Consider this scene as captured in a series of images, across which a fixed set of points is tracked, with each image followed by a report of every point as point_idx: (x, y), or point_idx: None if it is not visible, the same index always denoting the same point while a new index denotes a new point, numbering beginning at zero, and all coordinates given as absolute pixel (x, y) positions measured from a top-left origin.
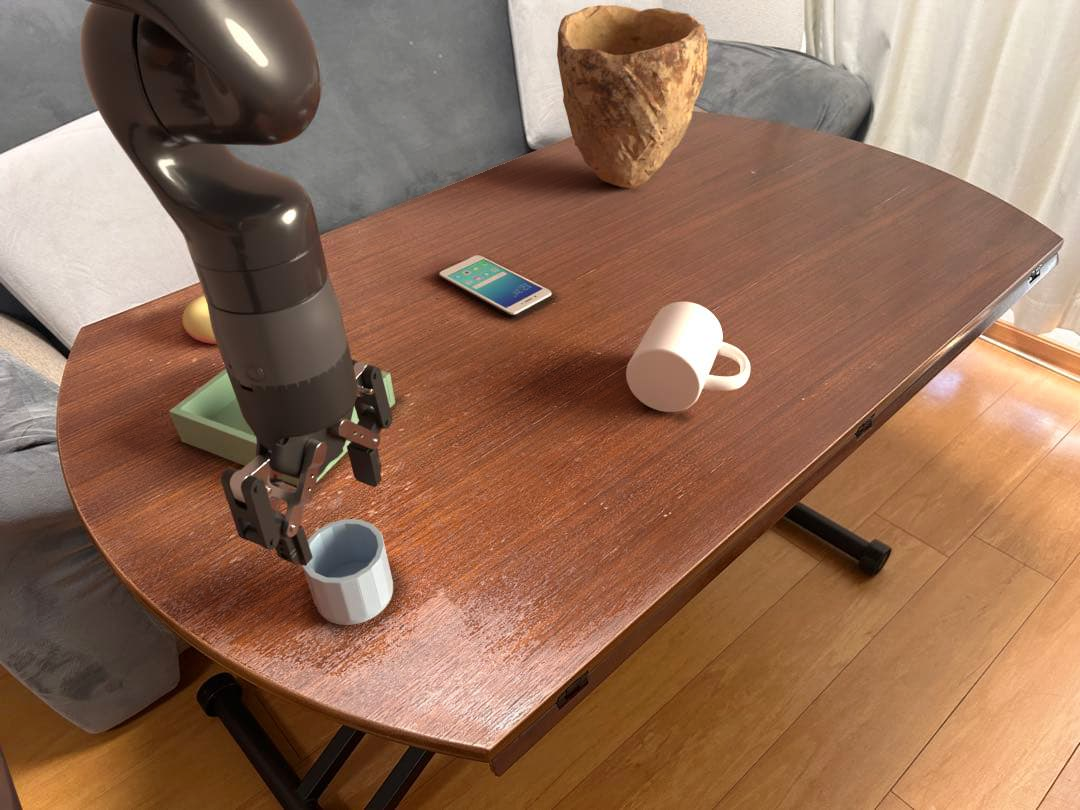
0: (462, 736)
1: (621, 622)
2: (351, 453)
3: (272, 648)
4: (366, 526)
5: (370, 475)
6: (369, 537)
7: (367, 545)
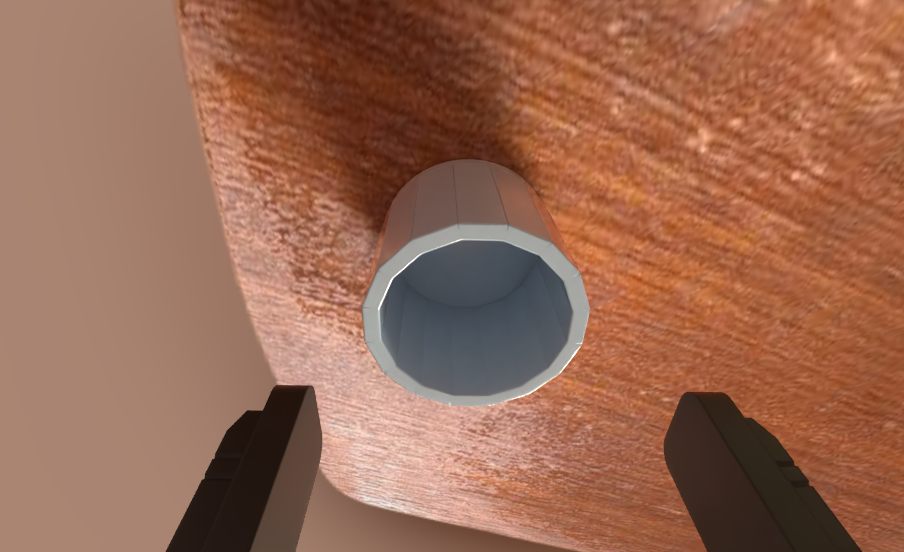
0: (329, 475)
1: (558, 543)
2: (770, 535)
3: (269, 169)
4: (571, 333)
5: (689, 490)
6: (558, 312)
7: (552, 280)
